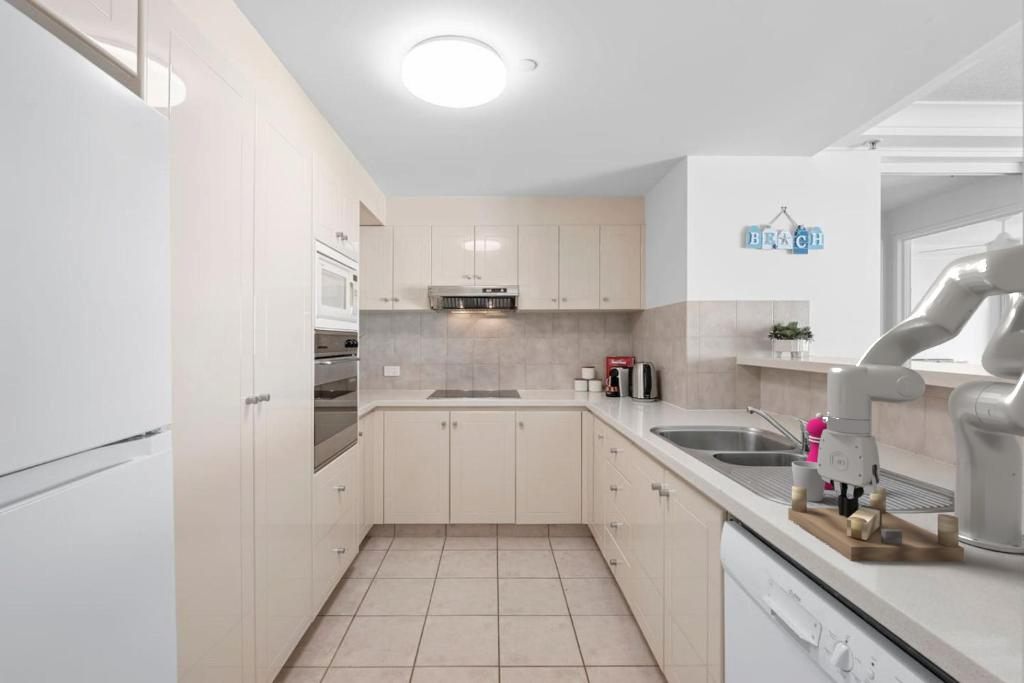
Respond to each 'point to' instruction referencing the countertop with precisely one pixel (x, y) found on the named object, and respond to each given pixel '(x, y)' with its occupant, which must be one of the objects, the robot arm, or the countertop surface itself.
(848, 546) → the stool seat
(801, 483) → the cup
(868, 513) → the folding leg
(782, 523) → the countertop surface
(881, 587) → the countertop surface
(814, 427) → the pepper mill
